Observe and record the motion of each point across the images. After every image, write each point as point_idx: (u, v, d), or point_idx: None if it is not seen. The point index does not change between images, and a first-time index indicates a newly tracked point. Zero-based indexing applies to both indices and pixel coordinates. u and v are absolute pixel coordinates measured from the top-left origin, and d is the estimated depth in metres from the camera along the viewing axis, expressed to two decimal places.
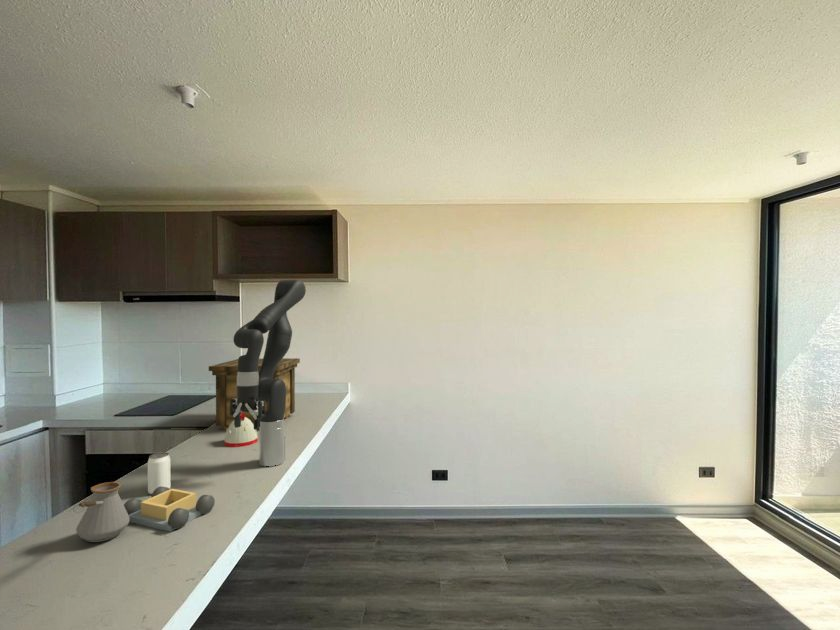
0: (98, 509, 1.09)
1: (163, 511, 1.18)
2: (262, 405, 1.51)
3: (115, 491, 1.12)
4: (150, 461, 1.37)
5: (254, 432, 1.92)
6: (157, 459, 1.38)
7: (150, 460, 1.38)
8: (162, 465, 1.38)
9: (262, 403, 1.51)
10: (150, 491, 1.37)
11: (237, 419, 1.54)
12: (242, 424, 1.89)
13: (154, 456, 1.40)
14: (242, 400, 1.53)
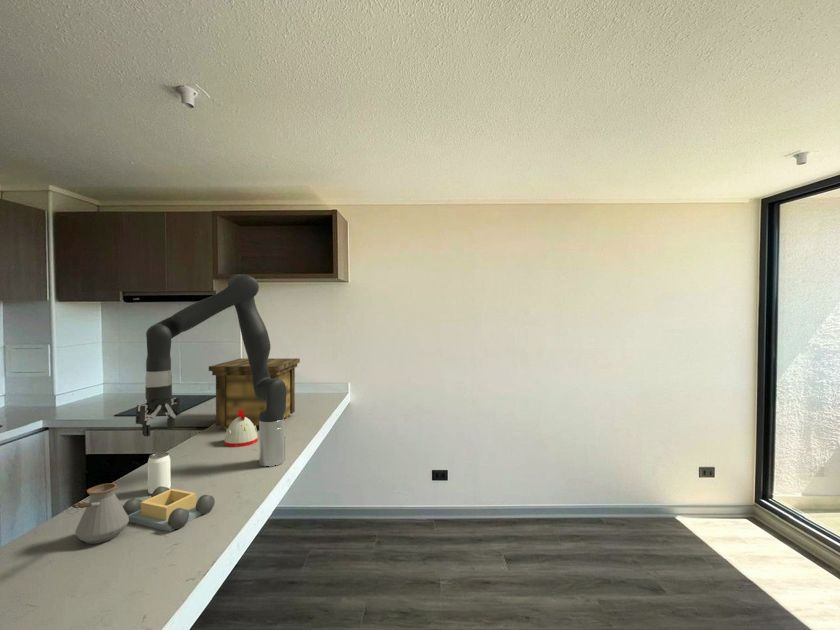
0: (95, 510, 1.09)
1: (163, 511, 1.18)
2: None
3: (111, 492, 1.12)
4: (150, 461, 1.37)
5: (254, 432, 1.92)
6: (157, 459, 1.38)
7: (150, 460, 1.38)
8: (162, 465, 1.38)
9: None
10: (150, 491, 1.37)
11: None
12: (242, 424, 1.89)
13: (154, 456, 1.40)
14: (157, 403, 1.38)
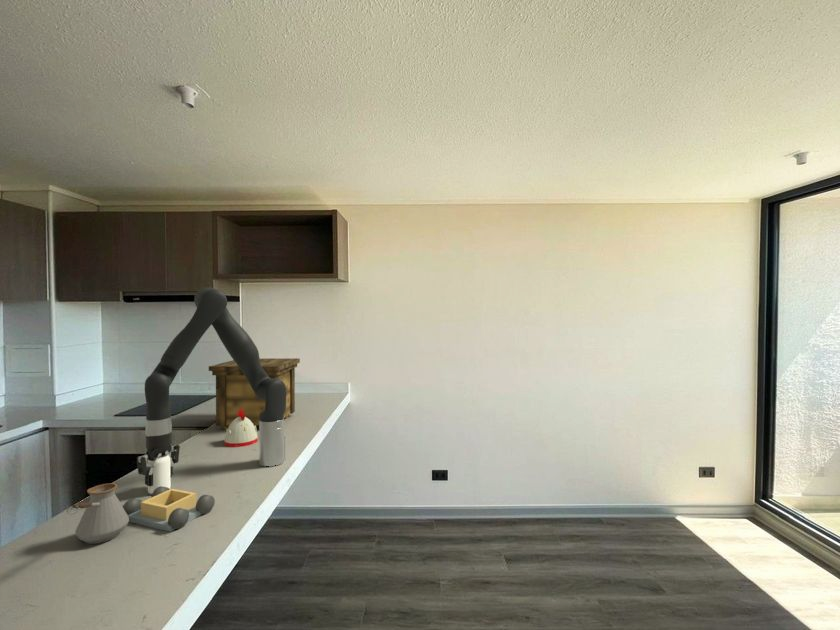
0: (95, 510, 1.09)
1: (163, 511, 1.18)
2: None
3: (111, 492, 1.12)
4: (150, 461, 1.37)
5: (254, 432, 1.92)
6: (157, 459, 1.38)
7: None
8: (162, 465, 1.38)
9: None
10: (150, 491, 1.37)
11: None
12: (242, 424, 1.89)
13: None
14: (157, 451, 1.39)
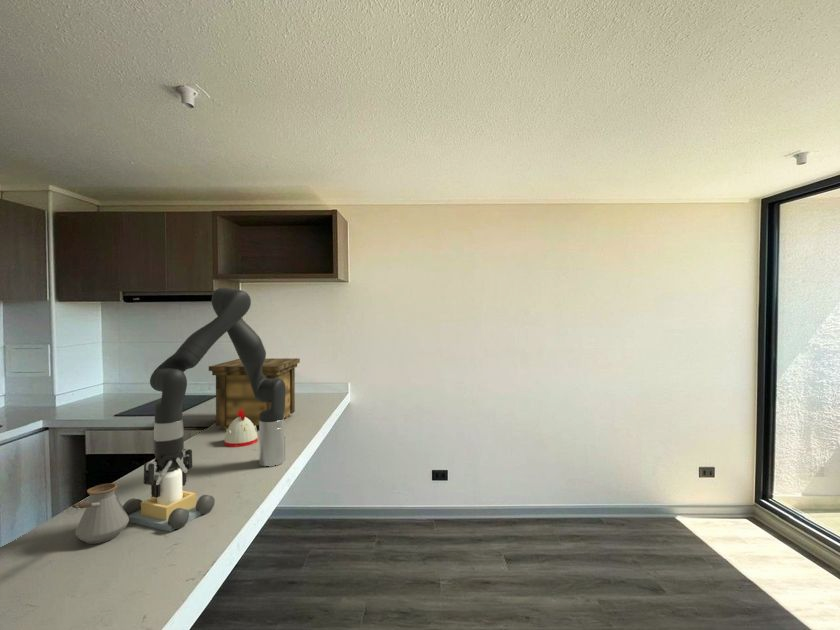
0: (95, 510, 1.09)
1: (163, 511, 1.18)
2: None
3: (111, 492, 1.12)
4: None
5: (254, 432, 1.92)
6: (167, 473, 1.21)
7: None
8: (173, 480, 1.22)
9: None
10: None
11: None
12: (242, 424, 1.89)
13: None
14: (167, 458, 1.22)
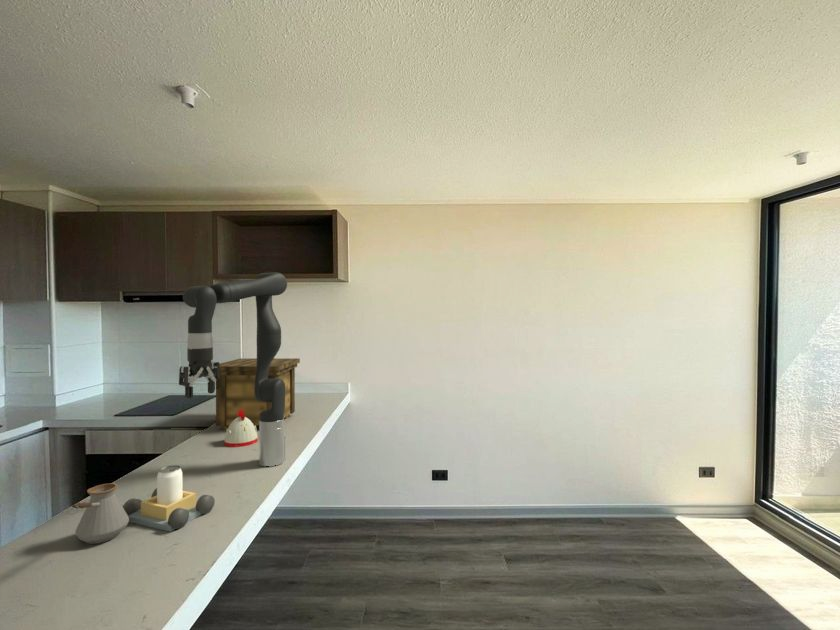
0: (95, 510, 1.09)
1: (163, 511, 1.18)
2: None
3: (111, 492, 1.12)
4: (160, 476, 1.21)
5: (254, 432, 1.92)
6: (168, 473, 1.22)
7: (160, 474, 1.21)
8: (173, 480, 1.22)
9: None
10: None
11: None
12: (242, 424, 1.89)
13: (164, 470, 1.24)
14: (199, 365, 1.37)
